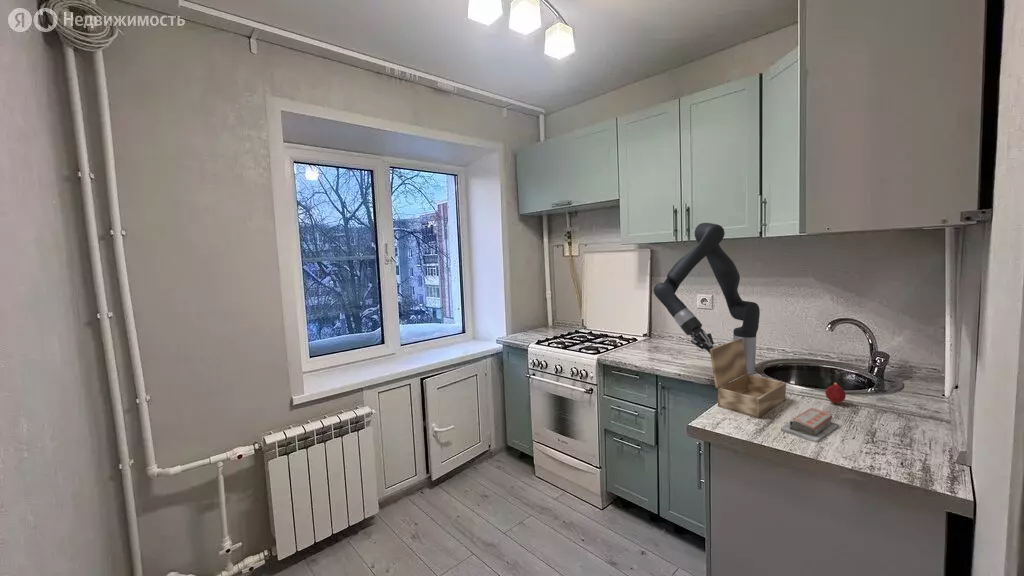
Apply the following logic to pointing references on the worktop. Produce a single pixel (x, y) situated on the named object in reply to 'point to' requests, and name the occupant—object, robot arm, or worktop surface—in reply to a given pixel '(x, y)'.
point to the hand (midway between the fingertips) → (715, 355)
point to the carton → (752, 395)
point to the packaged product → (811, 425)
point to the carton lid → (728, 362)
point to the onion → (835, 393)
